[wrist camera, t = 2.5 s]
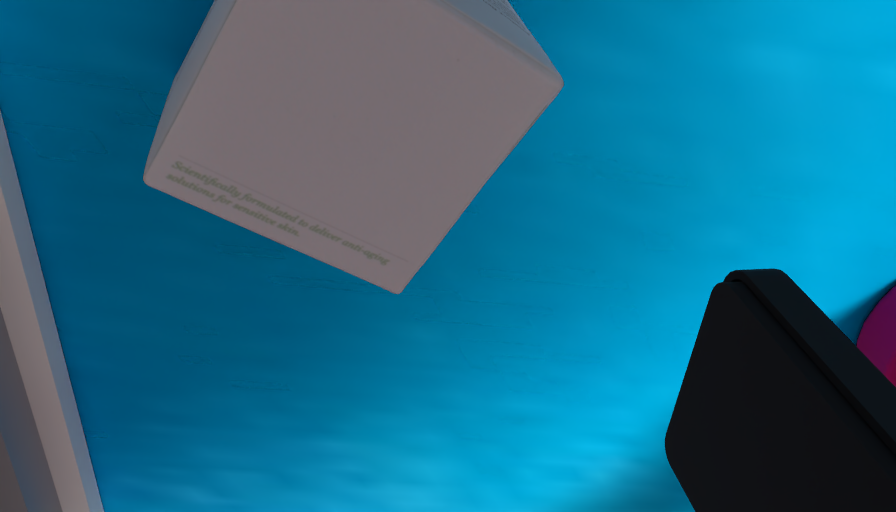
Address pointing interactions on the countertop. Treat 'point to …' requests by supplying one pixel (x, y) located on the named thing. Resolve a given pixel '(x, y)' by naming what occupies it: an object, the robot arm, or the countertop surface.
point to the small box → (349, 122)
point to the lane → (34, 377)
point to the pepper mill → (881, 336)
